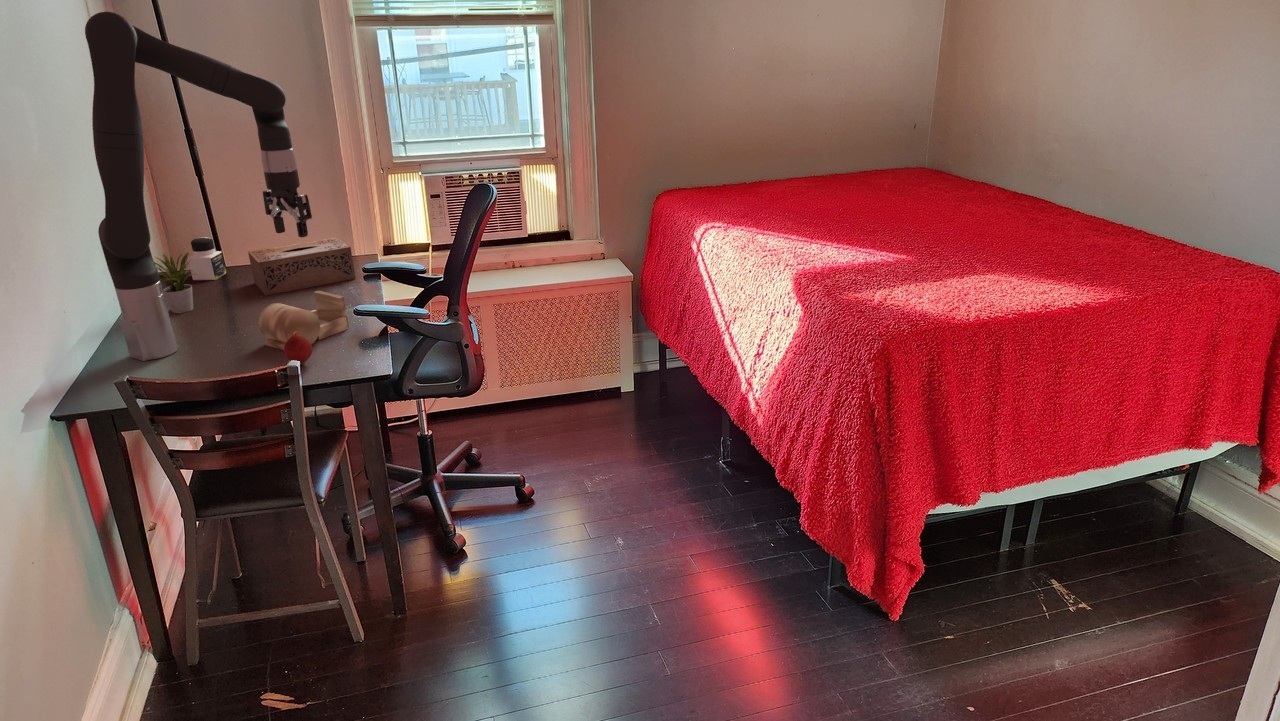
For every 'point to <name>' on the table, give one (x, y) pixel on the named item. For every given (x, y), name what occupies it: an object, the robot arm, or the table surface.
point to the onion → (298, 348)
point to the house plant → (177, 284)
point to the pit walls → (330, 313)
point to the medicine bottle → (206, 260)
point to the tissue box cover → (301, 265)
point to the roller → (287, 324)
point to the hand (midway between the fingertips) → (292, 234)
